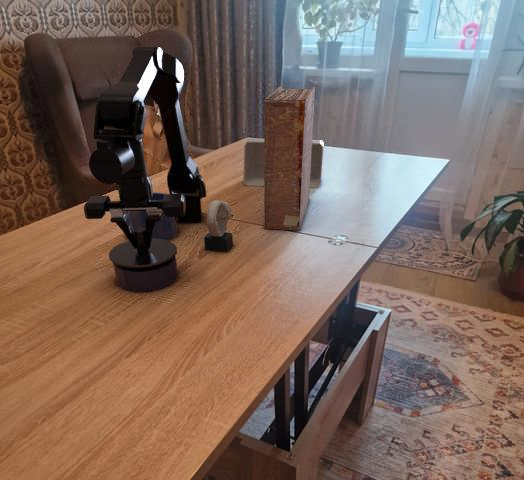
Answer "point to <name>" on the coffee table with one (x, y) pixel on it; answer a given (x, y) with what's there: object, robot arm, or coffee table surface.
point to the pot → (162, 228)
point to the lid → (142, 252)
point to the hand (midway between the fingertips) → (142, 247)
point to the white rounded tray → (255, 162)
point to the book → (287, 156)
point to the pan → (146, 276)
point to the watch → (218, 227)
